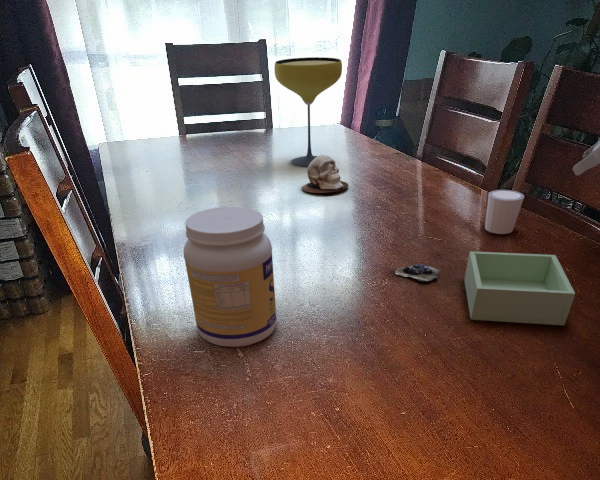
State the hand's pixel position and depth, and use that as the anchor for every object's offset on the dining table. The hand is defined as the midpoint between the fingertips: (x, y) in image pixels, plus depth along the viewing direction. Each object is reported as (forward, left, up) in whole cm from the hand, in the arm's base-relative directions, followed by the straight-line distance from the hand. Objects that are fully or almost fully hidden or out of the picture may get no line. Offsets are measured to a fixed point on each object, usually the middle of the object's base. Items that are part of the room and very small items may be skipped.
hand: (579, 164), depth 93 cm
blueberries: (+28, +20, -14) cm, 37 cm away
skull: (+51, -28, -14) cm, 60 cm away
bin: (+13, +28, -14) cm, 33 cm away
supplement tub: (+55, +42, -14) cm, 70 cm away
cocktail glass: (+59, -53, -14) cm, 81 cm away
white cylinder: (+11, -4, -14) cm, 18 cm away
